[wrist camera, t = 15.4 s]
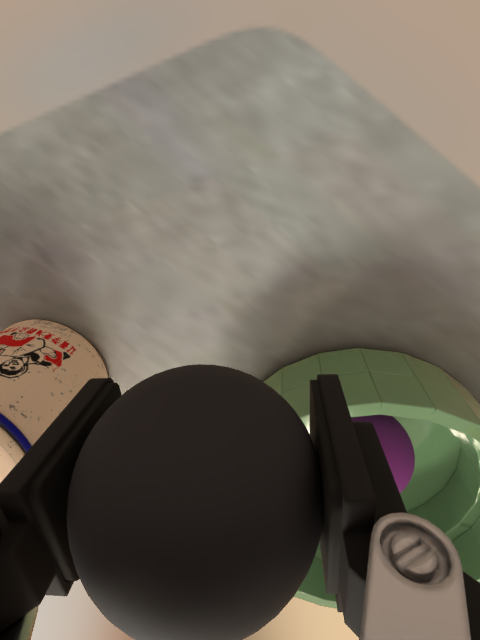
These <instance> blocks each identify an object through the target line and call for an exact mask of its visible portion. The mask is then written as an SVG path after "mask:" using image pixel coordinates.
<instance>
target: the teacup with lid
mask: <svg viewBox="0 0 480 640" xmlns="http://www.w3.org/2000/svg"><path fill="white" fill-rule="evenodd" d="M92 378H108V374H107V370H106V367H105V365H104V363H103V361H102V359H101V357H100V355H99V354H98V353H97V351H96V350H95V349H94V347H93V346H92V345H91V344H90V343H89V342H88V341H87V340H86V339H85V338H83V337H82V336H81V335H79V334H78V333H76V332H75V331H73V330H71V329H70V328H68V327H66V326H63V325H61V324H58V323H55V322H52V321H47V320H25V321H21V322H18V323H15V324H13V325H11V326H9V327H7V328H6V329H4V330H2V331H1V332H0V483H1V482H2V481H3V479H4V478H5V477H6V476H7V475H8V474H9V472H10V471H11V470H12V469H13V468H14V467H15V465H16V464H17V463H18V462H19V461H20V460H21V458H22V457H23V456H24V455H25V454H26V453H27V451H28V450H29V449H30V448H31V447H32V446H33V444H34V443H35V442H36V441H37V440H38V439H39V437H40V436H41V435H42V434H43V433H44V432H45V430H46V429H47V428H48V427H49V426H50V425H51V423H52V422H53V421H54V420H55V419H56V418H57V416H58V415H59V414H60V413H61V412H62V411H63V409H64V408H65V407H66V406H67V405H68V404H69V402H70V401H71V400H72V399H73V398H74V397H75V395H76V394H77V393H78V392H79V391H80V390H81V388H82V387H83V386H84V385H85V384H86V383H87V381H88V380H90V379H92Z"/></svg>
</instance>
